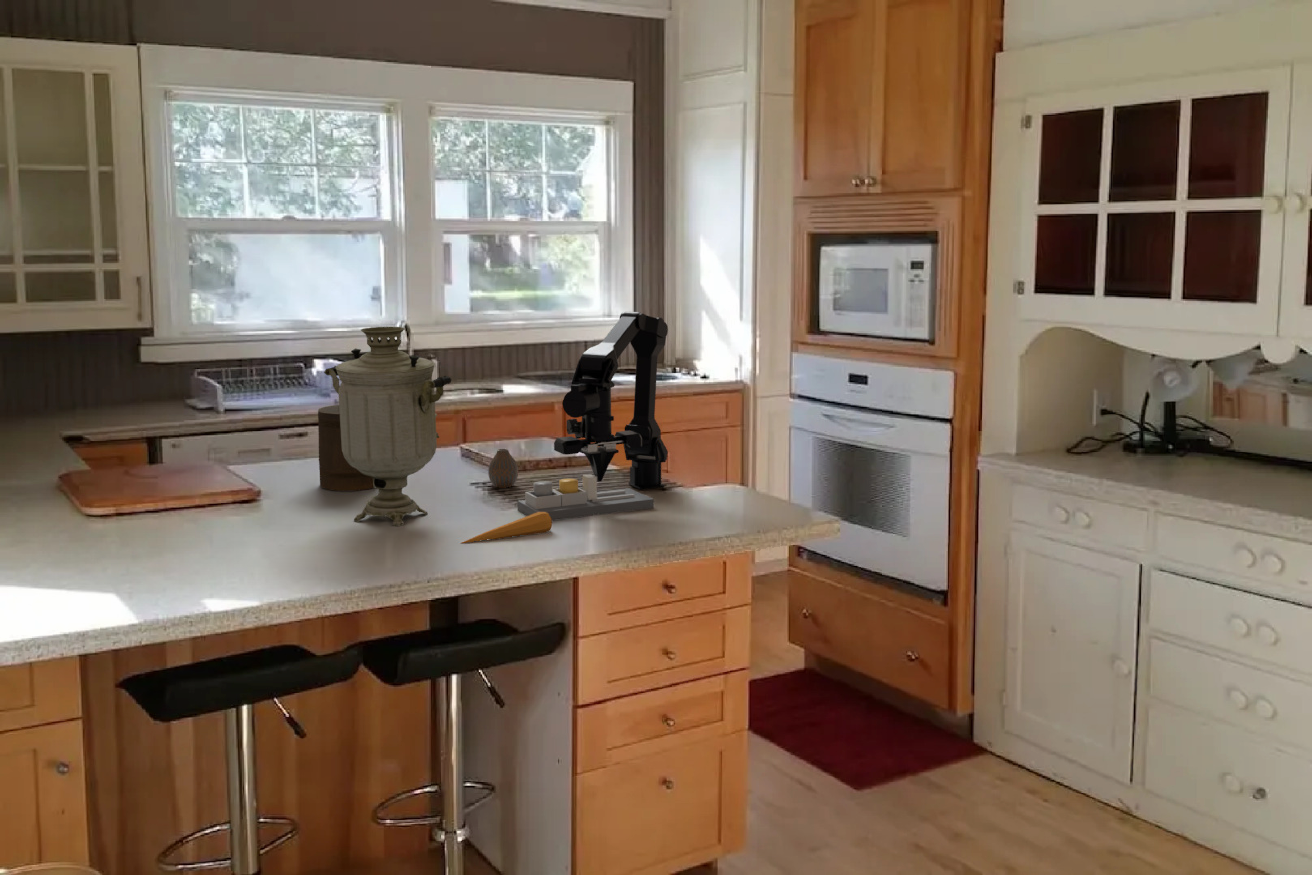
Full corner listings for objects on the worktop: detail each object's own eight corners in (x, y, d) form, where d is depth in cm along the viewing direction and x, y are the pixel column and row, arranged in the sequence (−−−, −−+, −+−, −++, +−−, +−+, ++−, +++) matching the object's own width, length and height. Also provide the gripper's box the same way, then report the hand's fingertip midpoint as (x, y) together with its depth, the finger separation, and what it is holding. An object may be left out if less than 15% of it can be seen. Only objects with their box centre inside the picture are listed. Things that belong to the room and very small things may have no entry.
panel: (629, 496, 284) (629, 477, 283) (653, 508, 273) (653, 487, 272) (517, 509, 271) (517, 489, 271) (538, 521, 261) (538, 500, 260)
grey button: (548, 494, 270) (547, 480, 269) (555, 497, 266) (555, 484, 266) (530, 496, 268) (530, 482, 267) (537, 499, 264) (537, 486, 264)
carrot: (548, 532, 256) (542, 511, 256) (557, 529, 252) (551, 507, 252) (458, 556, 246) (452, 534, 246) (466, 552, 242) (460, 530, 242)
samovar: (496, 516, 265) (492, 328, 258) (393, 540, 247) (385, 337, 239) (412, 494, 285) (406, 318, 278) (310, 514, 267) (301, 326, 259)
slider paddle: (591, 496, 274) (590, 474, 273) (596, 499, 271) (596, 476, 271) (582, 497, 273) (582, 475, 272) (588, 500, 271) (588, 477, 270)
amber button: (573, 491, 272) (573, 477, 272) (581, 495, 269) (581, 481, 268) (556, 493, 271) (556, 479, 270) (564, 497, 267) (563, 483, 267)
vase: (521, 483, 297) (520, 447, 295) (514, 490, 290) (514, 452, 289) (492, 482, 298) (491, 446, 296) (485, 489, 291) (484, 452, 289)
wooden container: (397, 482, 298) (394, 391, 294) (351, 494, 285) (347, 399, 281) (353, 475, 305) (349, 386, 301) (306, 486, 293) (301, 393, 289)
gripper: (620, 401, 281) (621, 469, 284) (543, 408, 272) (544, 478, 275) (643, 409, 271) (643, 479, 274) (563, 416, 263) (565, 488, 266)
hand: (598, 481), depth 273 cm, fingers closed
